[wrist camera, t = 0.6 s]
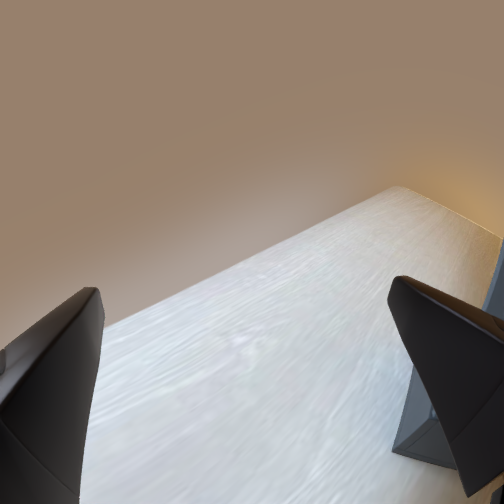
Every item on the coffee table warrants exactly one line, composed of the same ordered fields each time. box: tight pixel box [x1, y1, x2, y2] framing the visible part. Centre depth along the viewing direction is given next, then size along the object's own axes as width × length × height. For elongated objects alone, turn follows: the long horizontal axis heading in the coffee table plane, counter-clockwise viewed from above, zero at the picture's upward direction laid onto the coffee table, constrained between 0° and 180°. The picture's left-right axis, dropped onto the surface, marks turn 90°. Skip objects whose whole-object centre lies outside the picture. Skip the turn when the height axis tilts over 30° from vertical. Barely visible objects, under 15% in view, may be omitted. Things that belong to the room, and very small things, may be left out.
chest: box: [392, 366, 457, 470], centre depth 20 cm, size 13×11×6 cm
